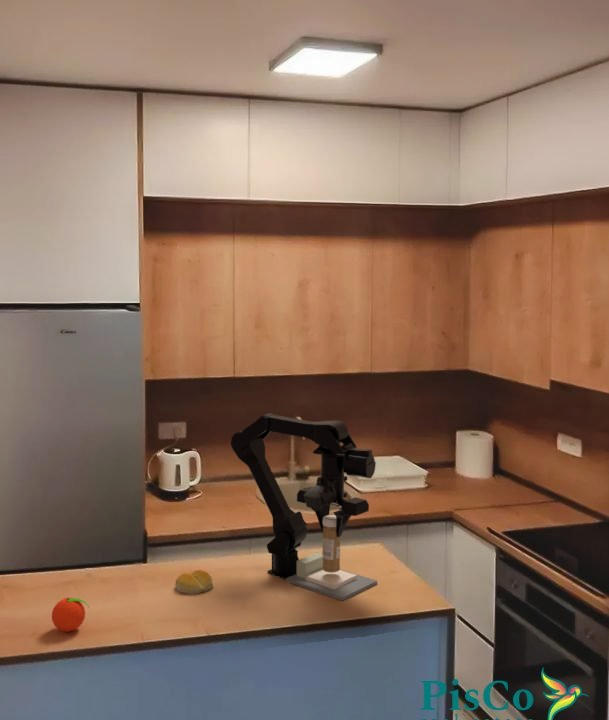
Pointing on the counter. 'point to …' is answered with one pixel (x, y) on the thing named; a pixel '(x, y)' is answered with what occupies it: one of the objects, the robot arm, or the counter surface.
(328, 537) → the sprinkles bottle
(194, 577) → the bread roll
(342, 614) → the counter surface
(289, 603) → the counter surface
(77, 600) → the clementine
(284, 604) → the counter surface
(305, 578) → the board
